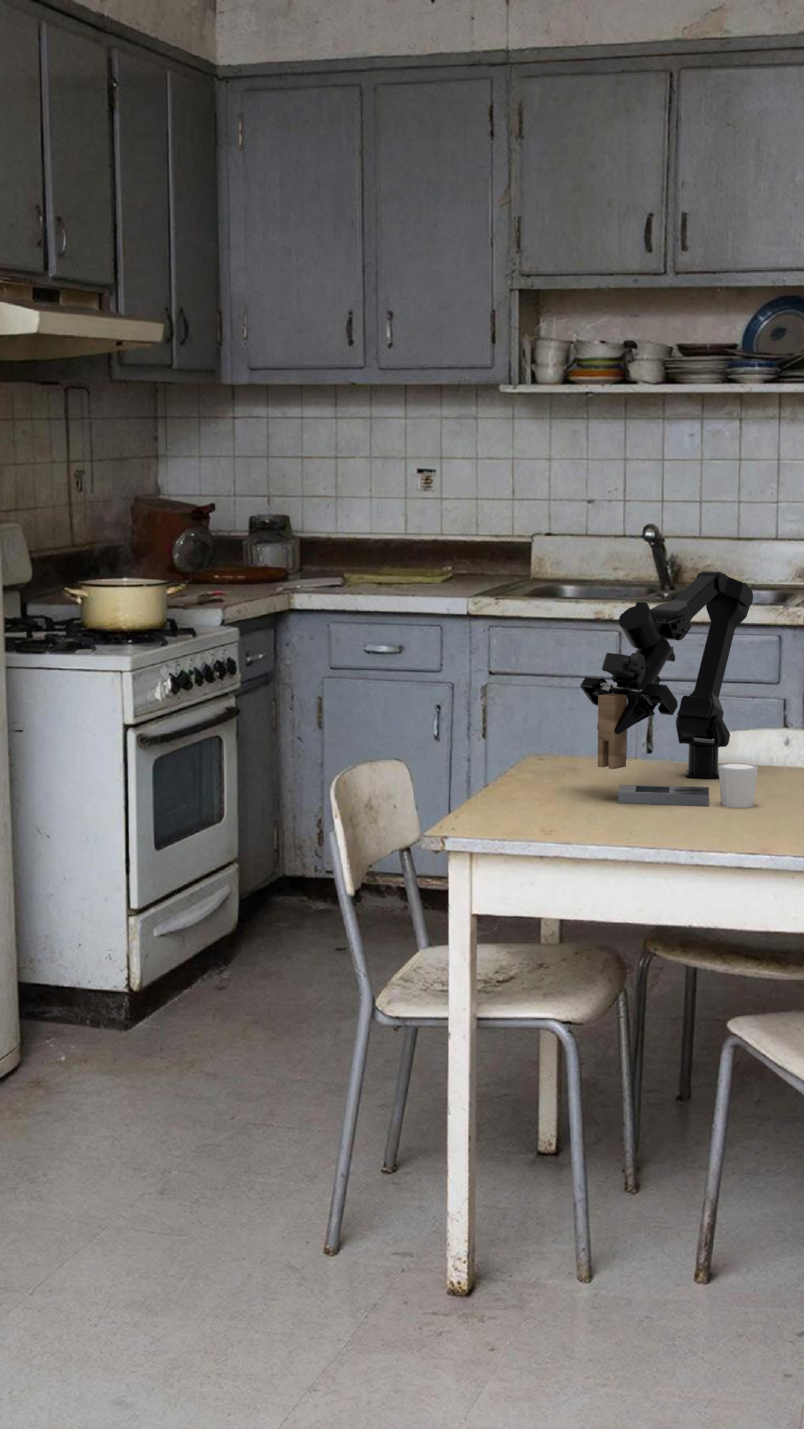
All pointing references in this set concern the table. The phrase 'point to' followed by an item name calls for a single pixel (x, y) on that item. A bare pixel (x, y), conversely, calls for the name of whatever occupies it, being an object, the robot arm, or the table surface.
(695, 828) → the table surface
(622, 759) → the brown block
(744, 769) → the white cup
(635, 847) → the table surface
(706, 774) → the robot arm
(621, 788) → the metal plate with hole
